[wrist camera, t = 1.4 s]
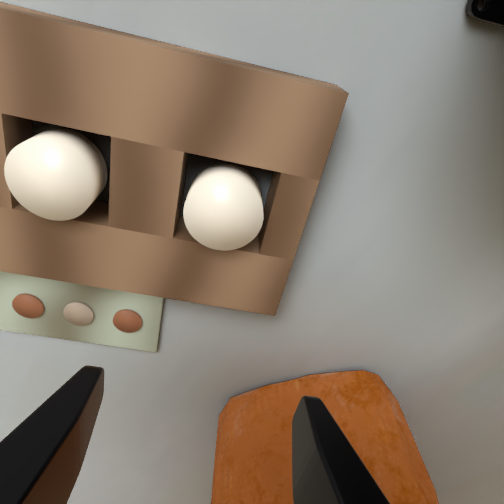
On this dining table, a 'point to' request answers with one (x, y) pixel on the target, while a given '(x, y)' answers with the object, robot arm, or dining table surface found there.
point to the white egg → (224, 207)
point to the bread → (280, 439)
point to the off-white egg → (56, 174)
